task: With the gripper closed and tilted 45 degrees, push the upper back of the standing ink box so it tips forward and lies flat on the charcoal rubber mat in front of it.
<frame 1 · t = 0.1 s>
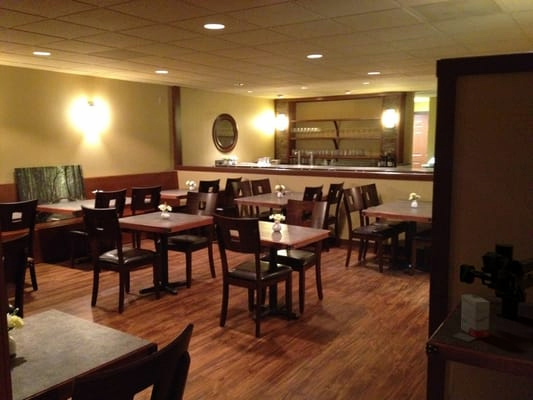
hand: (474, 282, 149), 17 cm above the counter, tool horizontal, fingers open, 9 cm apart
mat: (464, 337, 146), on the counter
ink box: (474, 333, 150), on the counter
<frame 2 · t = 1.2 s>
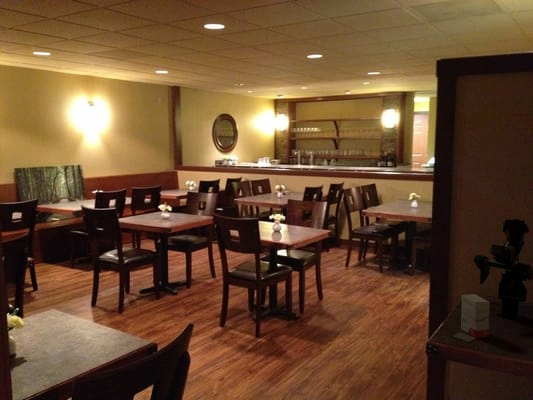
hand: (492, 286, 155), 14 cm above the counter, tool tilted 45°, fingers open, 8 cm apart
nothing on the counter moved.
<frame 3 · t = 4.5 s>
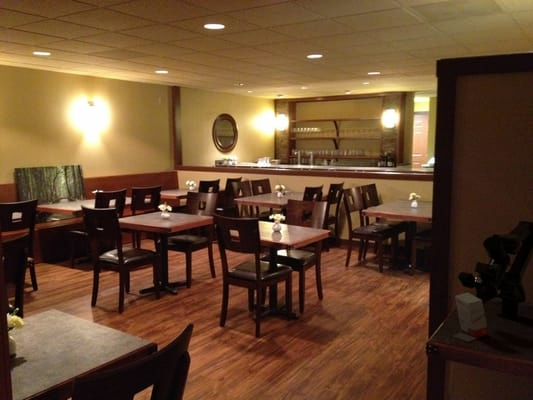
hand: (477, 305, 150), 9 cm above the counter, tool tilted 45°, fingers closed
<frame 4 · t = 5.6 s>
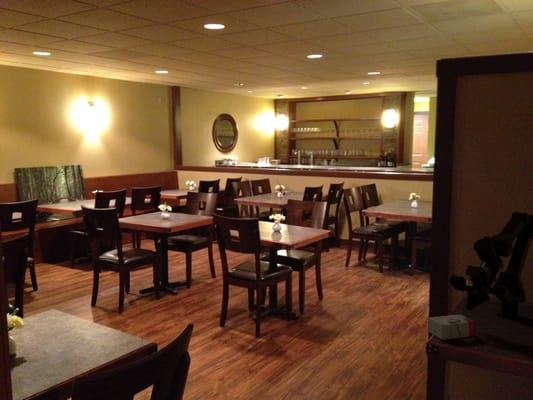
hand: (468, 309, 147), 9 cm above the counter, tool tilted 45°, fingers closed
ink box: (468, 325, 150), point 3 cm above the counter, touching mat
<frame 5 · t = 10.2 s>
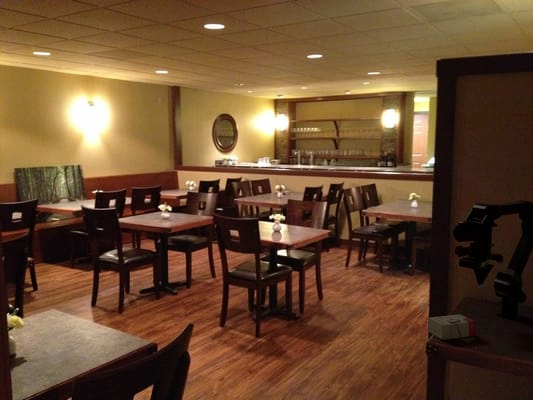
hand: (479, 284, 160), 13 cm above the counter, tool pointing down, fingers closed
nothing on the counter moved.
at the end: ink box tilted 90°; ink box touching mat, counter; ink box inside the target area (4.2 cm from its centre), point 2.7 cm above the counter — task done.
